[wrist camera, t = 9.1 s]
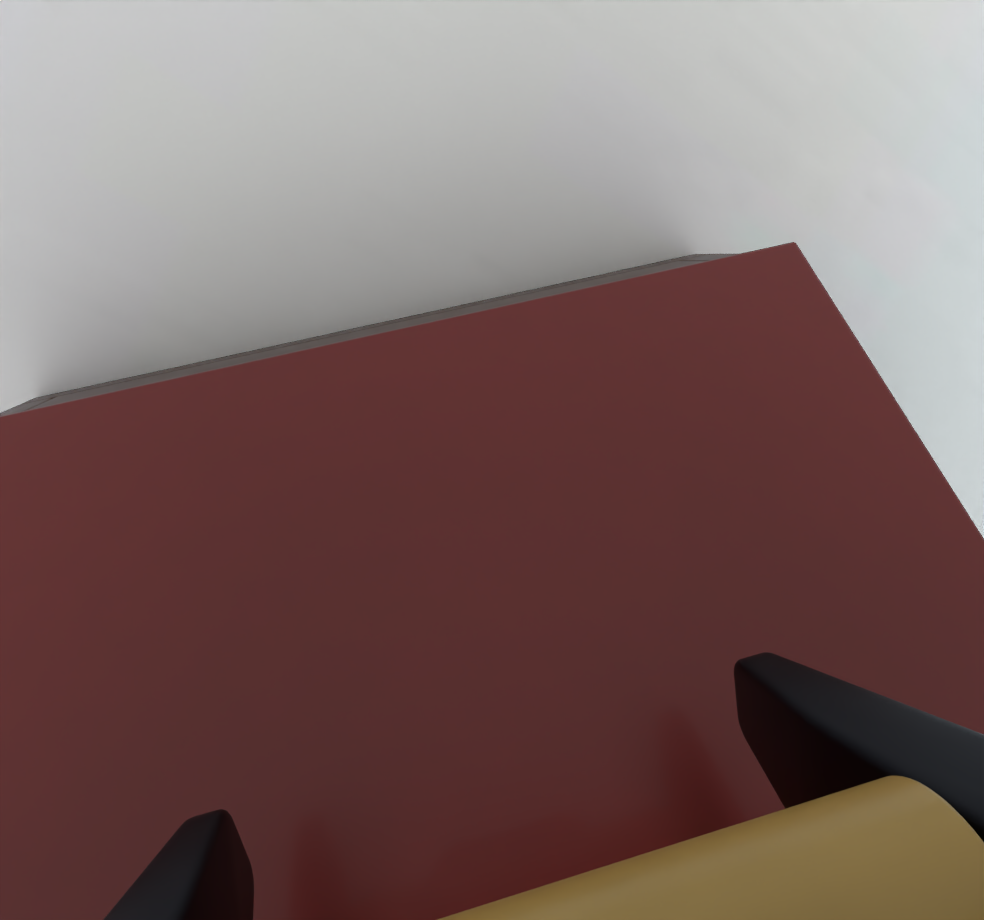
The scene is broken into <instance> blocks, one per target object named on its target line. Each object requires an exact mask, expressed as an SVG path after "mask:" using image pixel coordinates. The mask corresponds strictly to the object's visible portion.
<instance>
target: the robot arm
mask: <svg viewBox="0 0 984 920" xmlns="http://www.w3.org/2000/svg"><path fill="white" fill-rule="evenodd" d="M734 681H735V692H736V702H737V713H738V720H739V724H740V727H741V730H742V733H743V735H744V737H745V739H746V741H747V743H748V744H749V746H750V748H751V750H752V751H753V753H754V755H755V757H756V758H757V760H758V762H759V764H760V765H761V767H762V769H763V771H764V772H765V774H766V776H767V778H768V779H769V781H770V783H771V785H772V786H773V788H774V790H775V792H776V793H777V795H778V797H779V799H780V800H781V802H782V804H783V806H784V807H785V809H786V808H789V807H792V806H795V805H799V804H802V803H805V802H808V801H811V800H814V799H817V798H821V797H824V796H827V795H830V794H833V793H836V792H839V791H843V790H846V789H849V788H852V787H855V786H858V785H861V784H865V783H868V782H871V781H874V780H877V779H880V778H883V777H887V776H903V777H907V778H911V779H913V780H915V781H918V782H920V783H922V784H923V785H925V786H927V787H928V788H930V789H931V790H933V791H934V792H935V793H937V794H938V795H939V796H941V797H942V798H943V799H944V800H945V801H946V802H948V803H949V804H950V805H951V806H952V807H953V808H954V809H955V810H956V811H957V812H958V813H959V814H960V815H961V816H962V817H963V818H964V819H965V820H966V821H967V823H968V824H969V825H970V826H971V827H972V828H973V829H974V830H975V832H976V833H977V834H978V836H979V837H980V838H981V839H982V841H983V842H984V734H981V733H979V732H976V731H973V730H971V729H968V728H966V727H963V726H960V725H958V724H955V723H953V722H950V721H947V720H945V719H942V718H940V717H937V716H934V715H932V714H929V713H927V712H924V711H921V710H919V709H916V708H914V707H911V706H908V705H906V704H903V703H901V702H898V701H895V700H893V699H890V698H888V697H885V696H882V695H880V694H877V693H875V692H872V691H869V690H867V689H864V688H862V687H859V686H856V685H854V684H851V683H849V682H846V681H843V680H841V679H838V678H836V677H833V676H831V675H828V674H825V673H823V672H820V671H818V670H815V669H812V668H810V667H807V666H805V665H802V664H799V663H797V662H794V661H792V660H789V659H786V658H784V657H781V656H779V655H776V654H773V653H769V652H764V653H760V654H756V655H753V656H750V657H746V658H743V659H740V660H738V661H737V662H736V664H735V666H734ZM253 910H254V877H253V871H252V867H251V863H250V860H249V858H248V855H247V853H246V850H245V848H244V845H243V843H242V840H241V838H240V836H239V833H238V831H237V828H236V826H235V823H234V821H233V818H232V816H231V815H230V814H229V813H228V811H226V810H223V809H219V810H215V811H212V812H208V813H205V814H201V815H198V816H194V817H192V818H189V819H187V820H186V821H185V822H184V823H183V824H182V825H181V826H180V827H179V829H178V830H177V831H176V832H175V833H174V835H173V836H172V837H171V838H170V839H169V841H168V842H167V843H166V844H165V845H164V847H163V848H162V849H161V850H160V852H159V853H158V854H157V855H156V856H155V858H154V859H153V860H152V861H151V862H150V864H149V865H148V866H147V867H146V869H145V870H144V871H143V872H142V873H141V875H140V876H139V877H138V878H137V879H136V881H135V882H134V883H133V884H132V886H131V887H130V888H129V889H128V890H127V892H126V893H125V894H124V895H123V896H122V898H121V899H120V900H119V901H118V902H117V904H116V905H115V906H114V907H113V909H112V910H111V911H110V912H109V913H108V915H107V916H106V917H105V918H104V919H103V920H253Z"/></svg>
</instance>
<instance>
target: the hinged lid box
mask: <svg viewBox="0 0 984 920" xmlns="http://www.w3.org/2000/svg"><path fill="white" fill-rule="evenodd" d="M732 255H737V254H694V255H689V256H684V257H680V258H675V259H671V260H666V261H661V262H657V263H652V264H648V265H643V266H638V267H634V268H629V269H625V270H620V271H616V272H611V273H606V274H602V275H597V276H593V277H588V278H583V279H579V280H574V281H570V282H565V283H560V284H556V285H551V286H547V287H542V288H538V289H533V290H528V291H524V292H519V293H515V294H510V295H505V296H501V297H496V298H492V299H487V300H482V301H478V302H473V303H469V304H464V305H460V306H455V307H450V308H446V309H441V310H437V311H432V312H427V313H423V314H418V315H414V316H409V317H404V318H400V319H395V320H391V321H386V322H382V323H377V324H372V325H368V326H363V327H359V328H354V329H349V330H345V331H340V332H336V333H331V334H326V335H322V336H317V337H313V338H308V339H304V340H299V341H294V342H290V343H285V344H281V345H276V346H271V347H267V348H262V349H258V350H253V351H249V352H244V353H239V354H235V355H230V356H226V357H221V358H216V359H212V360H207V361H203V362H198V363H193V364H189V365H184V366H180V367H175V368H171V369H166V370H161V371H157V372H152V373H148V374H143V375H138V376H134V377H129V378H125V379H120V380H115V381H111V382H106V383H102V384H97V385H93V386H88V387H83V388H79V389H74V390H70V391H65V392H60V393H56V394H51V395H47V396H42V397H37V398H34V399H32V400H29V401H27V402H25V403H23V404H21V405H18V406H16V407H14V408H11V409H9V410H7V411H4V412H2V413H0V416H4V415H8V414H13V413H18V412H22V411H27V410H31V409H36V408H40V407H45V406H49V405H54V404H59V403H63V402H68V401H72V400H77V399H81V398H86V397H90V396H95V395H100V394H104V393H109V392H113V391H118V390H122V389H127V388H131V387H136V386H141V385H145V384H150V383H154V382H159V381H163V380H168V379H172V378H177V377H182V376H186V375H191V374H195V373H200V372H204V371H209V370H213V369H218V368H222V367H227V366H232V365H236V364H241V363H245V362H250V361H254V360H259V359H263V358H268V357H273V356H277V355H282V354H286V353H291V352H295V351H300V350H304V349H309V348H314V347H318V346H323V345H327V344H332V343H336V342H341V341H345V340H350V339H355V338H359V337H364V336H368V335H373V334H377V333H382V332H386V331H391V330H396V329H400V328H405V327H409V326H414V325H418V324H423V323H427V322H432V321H436V320H441V319H446V318H450V317H455V316H459V315H464V314H468V313H473V312H477V311H482V310H487V309H491V308H496V307H500V306H505V305H509V304H514V303H518V302H523V301H528V300H532V299H537V298H541V297H546V296H550V295H555V294H559V293H564V292H569V291H573V290H578V289H582V288H587V287H591V286H596V285H600V284H605V283H610V282H614V281H619V280H623V279H628V278H632V277H637V276H641V275H646V274H650V273H655V272H660V271H664V270H669V269H673V268H678V267H682V266H687V265H691V264H696V263H701V262H705V261H710V260H714V259H719V258H723V257H728V256H732Z"/></svg>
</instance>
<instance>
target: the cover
mask: <svg viewBox="0 0 984 920" xmlns="http://www.w3.org/2000/svg"><path fill="white" fill-rule="evenodd" d="M764 652H769V653H773V654H776V655H779V656H781V657H784V658H786V659H789V660H792V661H794V662H797V663H799V664H802V665H805V666H807V667H810V668H812V669H815V670H818V671H820V672H823V673H825V674H828V675H831V676H833V677H836V678H838V679H841V680H843V681H846V682H849V683H851V684H854V685H856V686H859V687H862V688H864V689H867V690H869V691H872V692H875V693H877V694H880V695H882V696H885V697H888V698H890V699H893V700H895V701H898V702H901V703H903V704H906V705H908V706H911V707H914V708H916V709H919V710H921V711H924V712H927V713H929V714H932V715H934V716H937V717H940V718H942V719H945V720H947V721H950V722H953V723H955V724H958V725H960V726H963V727H966V728H968V729H971V730H973V731H976V732H979V733H981V734H984V538H983V537H982V535H981V534H980V532H979V531H978V529H977V527H976V526H975V524H974V523H973V521H972V520H971V518H970V516H969V515H968V513H967V512H966V510H965V508H964V507H963V505H962V504H961V502H960V501H959V499H958V497H957V496H956V494H955V493H954V491H953V490H952V488H951V486H950V485H949V483H948V482H947V480H946V479H945V477H944V475H943V474H942V472H941V471H940V469H939V468H938V466H937V464H936V463H935V461H934V460H933V458H932V457H931V455H930V453H929V452H928V450H927V449H926V447H925V445H924V444H923V442H922V441H921V439H920V438H919V436H918V434H917V433H916V431H915V430H914V428H913V427H912V425H911V423H910V422H909V420H908V419H907V417H906V416H905V414H904V412H903V411H902V409H901V408H900V406H899V405H898V403H897V401H896V400H895V398H894V397H893V395H892V394H891V392H890V390H889V389H888V387H887V386H886V384H885V382H884V381H883V379H882V378H881V376H880V375H879V373H878V371H877V370H876V368H875V367H874V365H873V364H872V362H871V360H870V359H869V357H868V356H867V354H866V353H865V351H864V349H863V348H862V346H861V345H860V343H859V342H858V340H857V338H856V337H855V335H854V334H853V332H852V331H851V329H850V327H849V326H848V324H847V323H846V321H845V320H844V318H843V316H842V315H841V313H840V312H839V310H838V308H837V307H836V305H835V304H834V302H833V301H832V299H831V297H830V296H829V294H828V293H827V291H826V290H825V288H824V286H823V285H822V283H821V282H820V280H819V279H818V277H817V275H816V274H815V272H814V271H813V269H812V268H811V266H810V264H809V263H808V261H807V260H806V258H805V257H804V255H803V253H802V252H801V250H800V249H799V247H798V245H797V244H796V243H795V242H792V243H787V244H783V245H778V246H773V247H769V248H764V249H760V250H755V251H751V252H746V253H742V254H737V255H732V256H728V257H723V258H719V259H714V260H710V261H705V262H701V263H696V264H691V265H687V266H682V267H678V268H673V269H669V270H664V271H660V272H655V273H650V274H646V275H641V276H637V277H632V278H628V279H623V280H619V281H614V282H610V283H605V284H600V285H596V286H591V287H587V288H582V289H578V290H573V291H569V292H564V293H559V294H555V295H550V296H546V297H541V298H537V299H532V300H528V301H523V302H518V303H514V304H509V305H505V306H500V307H496V308H491V309H487V310H482V311H477V312H473V313H468V314H464V315H459V316H455V317H450V318H446V319H441V320H436V321H432V322H427V323H423V324H418V325H414V326H409V327H405V328H400V329H396V330H391V331H386V332H382V333H377V334H373V335H368V336H364V337H359V338H355V339H350V340H345V341H341V342H336V343H332V344H327V345H323V346H318V347H314V348H309V349H304V350H300V351H295V352H291V353H286V354H282V355H277V356H273V357H268V358H263V359H259V360H254V361H250V362H245V363H241V364H236V365H232V366H227V367H222V368H218V369H213V370H209V371H204V372H200V373H195V374H191V375H186V376H182V377H177V378H172V379H168V380H163V381H159V382H154V383H150V384H145V385H141V386H136V387H131V388H127V389H122V390H118V391H113V392H109V393H104V394H100V395H95V396H90V397H86V398H81V399H77V400H72V401H68V402H63V403H59V404H54V405H49V406H45V407H40V408H36V409H31V410H27V411H22V412H18V413H13V414H8V415H4V416H0V920H103V919H104V918H105V917H106V916H107V915H108V913H109V912H110V911H111V910H112V909H113V907H114V906H115V905H116V904H117V902H118V901H119V900H120V899H121V898H122V896H123V895H124V894H125V893H126V892H127V890H128V889H129V888H130V887H131V886H132V884H133V883H134V882H135V881H136V879H137V878H138V877H139V876H140V875H141V873H142V872H143V871H144V870H145V869H146V867H147V866H148V865H149V864H150V862H151V861H152V860H153V859H154V858H155V856H156V855H157V854H158V853H159V852H160V850H161V849H162V848H163V847H164V845H165V844H166V843H167V842H168V841H169V839H170V838H171V837H172V836H173V835H174V833H175V832H176V831H177V830H178V829H179V827H180V826H181V825H182V824H183V823H184V822H185V821H186V820H187V819H189V818H192V817H194V816H198V815H201V814H205V813H208V812H212V811H215V810H219V809H223V810H226V811H228V813H229V814H230V815H231V816H232V818H233V821H234V823H235V826H236V828H237V831H238V833H239V836H240V838H241V840H242V843H243V845H244V848H245V850H246V853H247V855H248V858H249V860H250V863H251V867H252V871H253V877H254V910H253V920H984V842H983V841H982V839H981V838H980V837H979V836H978V834H977V833H976V832H975V830H974V829H973V828H972V827H971V826H970V825H969V824H968V823H967V821H966V820H965V819H964V818H963V817H962V816H961V815H960V814H959V813H958V812H957V811H956V810H955V809H954V808H953V807H952V806H951V805H950V804H949V803H948V802H946V801H945V800H944V799H943V798H942V797H941V796H939V795H938V794H937V793H935V792H934V791H933V790H931V789H930V788H928V787H927V786H925V785H923V784H922V783H920V782H918V781H915V780H913V779H911V778H907V777H903V776H887V777H883V778H880V779H877V780H874V781H871V782H868V783H865V784H861V785H858V786H855V787H852V788H849V789H846V790H843V791H839V792H836V793H833V794H830V795H827V796H824V797H821V798H817V799H814V800H811V801H808V802H805V803H802V804H799V805H795V806H792V807H789V808H786V809H785V807H784V806H783V804H782V802H781V800H780V799H779V797H778V795H777V793H776V792H775V790H774V788H773V786H772V785H771V783H770V781H769V779H768V778H767V776H766V774H765V772H764V771H763V769H762V767H761V765H760V764H759V762H758V760H757V758H756V757H755V755H754V753H753V751H752V750H751V748H750V746H749V744H748V743H747V741H746V739H745V737H744V735H743V733H742V730H741V727H740V724H739V720H738V713H737V702H736V692H735V681H734V666H735V664H736V662H737V661H738V660H740V659H743V658H746V657H750V656H753V655H756V654H760V653H764Z"/></svg>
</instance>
